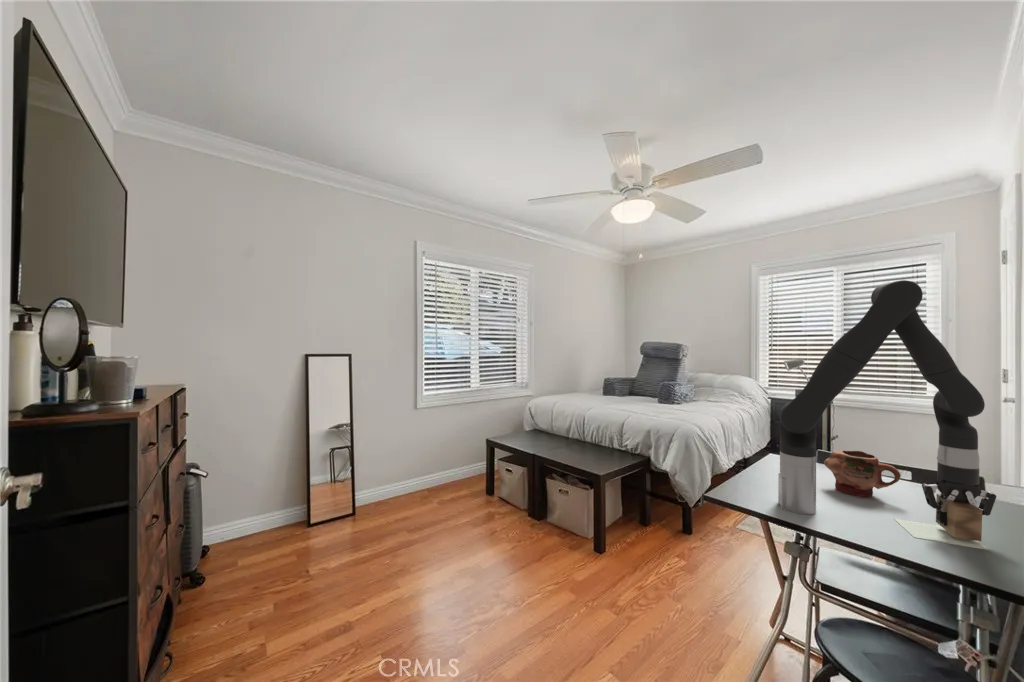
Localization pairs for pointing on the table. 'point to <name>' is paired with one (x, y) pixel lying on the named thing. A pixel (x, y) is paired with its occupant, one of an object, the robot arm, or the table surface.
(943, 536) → the mat
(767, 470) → the table surface
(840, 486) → the decorative planter
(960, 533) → the walnut block
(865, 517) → the table surface
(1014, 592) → the table surface
